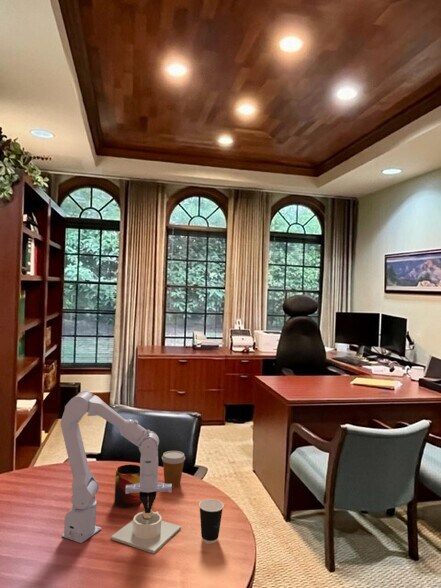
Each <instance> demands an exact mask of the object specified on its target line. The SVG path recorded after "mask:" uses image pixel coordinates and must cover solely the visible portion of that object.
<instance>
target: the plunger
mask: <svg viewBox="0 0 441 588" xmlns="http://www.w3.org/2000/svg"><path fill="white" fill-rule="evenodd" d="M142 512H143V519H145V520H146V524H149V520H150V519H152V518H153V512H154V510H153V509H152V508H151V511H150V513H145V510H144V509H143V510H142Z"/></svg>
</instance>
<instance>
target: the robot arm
mask: <svg viewBox="0 0 441 588" xmlns="http://www.w3.org/2000/svg"><path fill="white" fill-rule="evenodd" d="M86 414H87V417H93V416H94V417H96V416H98V417H100V418H102V419H104V420H105V421H107V422H108V423H109V424H111V425H113V426H115V427H116V428H117V429H119V434H120V436H122V437H124V439H126V440H127V441H128V442H130V443H132V444H133V445H135V446H136V447H138V450H139V452H140V458H139V459H140V461H139V466H140V483H139V484H133V485H126V492H125V494H129V493H136V492H140V495H139V497H140V500H141V503H142V506H143V508H144V509H143V510H145V513H150V511H151V509H152V507H153V505H154V502H155V500H156V499H157V493H164V492H165V493H166V492H167V493H172V489H173V487H172V484H165V482H164V483H163V482H159V450H158V449H159V444H160V438H159V436H158V434H157V433H156V431H151V430H150V429H146V428H144V426H142V425H140V424H139V420H137V419H134V420H133V418H132V419H131V418H130V419H126V418H124V417H123V416H122V415H121V414H119V413H118V412H117V411H116V410H114V409H113V408H112V407H110V405H108V404H107V403H106V402H104V400H102V399H101V398H100V397H99V396H98V395H95V394H94V393H92V392H91V391H89V390H83V391H80V392H78V393H77V395H75V396H73V397H72V398H71V399H70V400H69V401H68V402H67V403H66V405H64V411H63V414H62V417H61V419H60V428H61V432H62V437H63V441H64V445H65V449H66V454H67V457H68V462H69V466H70V469H71V474H72V484H71V490H72V491H71V492H72V495H71V503H72V507H71V508H70V510H69V511H67V513H66V514H65V516H64V527H63V528H64V529H63V533H62V535H61V537H63V538H66V539H69V540H71V541H74V542H76V543H80V544H82V543H84V542H85V541H87V540H89V538H91V537H92V536H94V535H96V533H98V532H99V531H101V530H102V527H100V526H97V525H96V523H97V522H96V521H97V499H96V495H97V493H98V491H99V482H98V481H97V479H96V478H95V477H94V473H93V472H92V471H91V470H90V468H89V463H88V459H87V454H86V451H85V447H84V441H83V438H82V433H81V429H80V425H79V423H80V421H81V420H82V418H83V417H84V416H85V415H86ZM148 492H149V495H148Z"/></svg>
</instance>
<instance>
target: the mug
mask: <svg viewBox="0 0 441 588" xmlns="http://www.w3.org/2000/svg"><path fill="white" fill-rule="evenodd" d="M114 482H115V483H114V503H113V504H114V505H115V507H116V508H120V509H123V510H124V509H133V508H137V507H138V506H140V505H141V503H142V502H141V500H140V497H139V495H140V492H136V493H129V494H125V492H126V485H133V484H139V483H140V465H137V464H124V465H120V466H118V467H116V469H115V481H114ZM148 495H149V492H148Z"/></svg>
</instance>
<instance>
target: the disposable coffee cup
mask: <svg viewBox="0 0 441 588" xmlns="http://www.w3.org/2000/svg"><path fill="white" fill-rule="evenodd" d="M161 459H162V468H163V480H164V484H172V488H178V487H179V486H180V485H181V481H182V474H183V469H184V463H185V460H186V456H185V453H184V452H182V451H179V450H168V451H165V452H163V454H162V456H161Z"/></svg>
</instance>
